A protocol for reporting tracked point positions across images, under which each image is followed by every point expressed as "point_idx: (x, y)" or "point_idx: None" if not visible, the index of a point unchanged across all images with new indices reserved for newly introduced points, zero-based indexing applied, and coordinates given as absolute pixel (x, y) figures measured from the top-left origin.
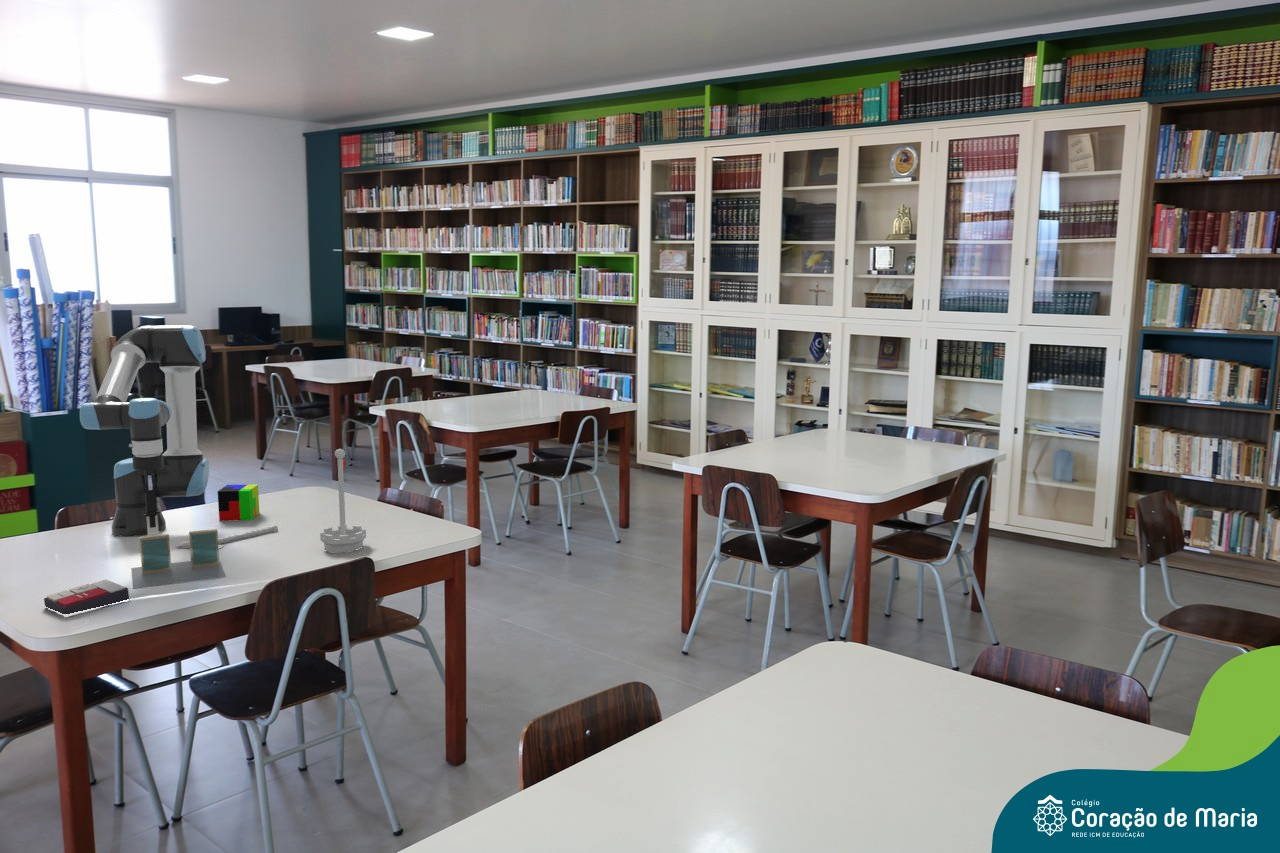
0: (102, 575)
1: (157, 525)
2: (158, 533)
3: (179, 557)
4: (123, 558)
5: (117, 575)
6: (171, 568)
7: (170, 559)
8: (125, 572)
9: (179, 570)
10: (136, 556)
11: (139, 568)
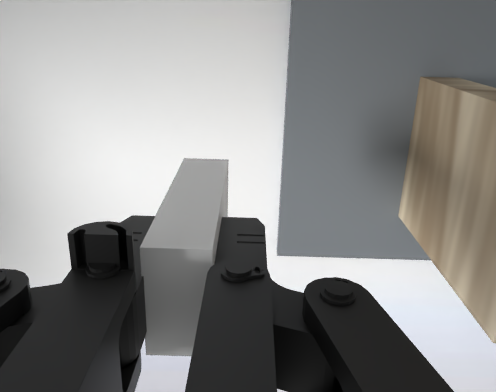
0: None
1: (220, 203)
2: (225, 172)
3: (137, 2)
4: (43, 272)
5: None
6: (404, 73)
7: (493, 88)
8: (307, 275)
9: (477, 33)
10: (25, 217)
11: (306, 222)
